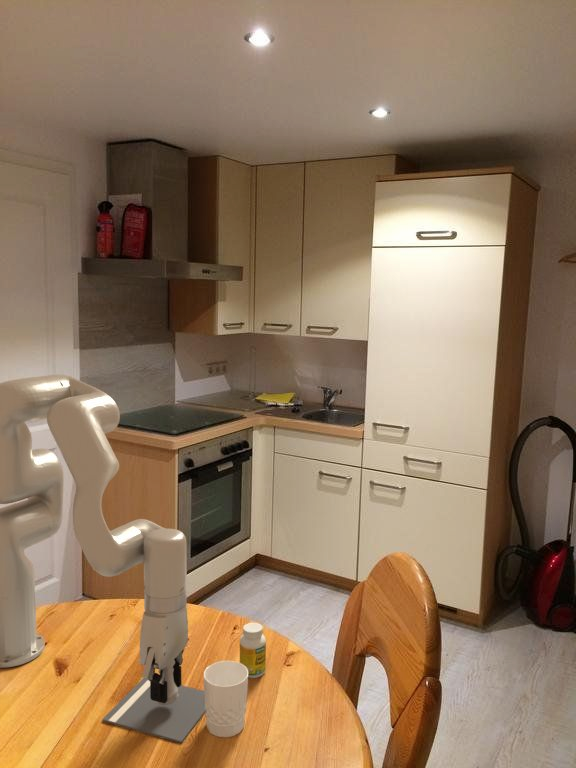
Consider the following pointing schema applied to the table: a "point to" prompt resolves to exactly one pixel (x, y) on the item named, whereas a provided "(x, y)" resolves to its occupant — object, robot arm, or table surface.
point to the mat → (159, 712)
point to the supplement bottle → (253, 649)
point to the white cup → (225, 697)
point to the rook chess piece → (170, 685)
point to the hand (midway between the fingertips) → (166, 691)
